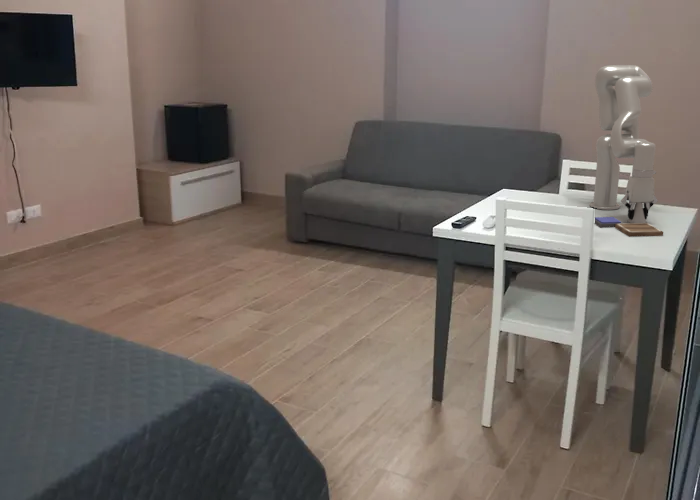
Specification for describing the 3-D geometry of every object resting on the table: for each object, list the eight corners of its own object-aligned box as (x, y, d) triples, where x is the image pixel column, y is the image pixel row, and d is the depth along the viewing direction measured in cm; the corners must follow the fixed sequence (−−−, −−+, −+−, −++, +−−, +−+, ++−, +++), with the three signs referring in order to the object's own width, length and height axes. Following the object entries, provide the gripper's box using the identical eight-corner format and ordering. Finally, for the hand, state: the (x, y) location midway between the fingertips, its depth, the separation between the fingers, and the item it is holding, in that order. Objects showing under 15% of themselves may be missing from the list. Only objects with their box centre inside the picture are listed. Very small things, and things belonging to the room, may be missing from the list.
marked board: (614, 227, 280) (615, 223, 280) (647, 226, 281) (647, 222, 280) (629, 236, 268) (629, 232, 267) (662, 235, 268) (663, 231, 268)
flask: (648, 225, 282) (651, 201, 279) (628, 225, 284) (631, 200, 281) (644, 221, 289) (647, 197, 286) (625, 220, 290) (628, 196, 288)
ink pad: (591, 221, 289) (592, 217, 288) (613, 221, 289) (614, 216, 289) (600, 227, 280) (601, 222, 280) (623, 227, 281) (623, 222, 280)
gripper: (658, 171, 285) (653, 216, 290) (617, 172, 284) (612, 217, 289) (668, 175, 277) (662, 220, 283) (625, 176, 277) (620, 221, 282)
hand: (637, 218), depth 286 cm, fingers closed on flask, 4 cm apart
